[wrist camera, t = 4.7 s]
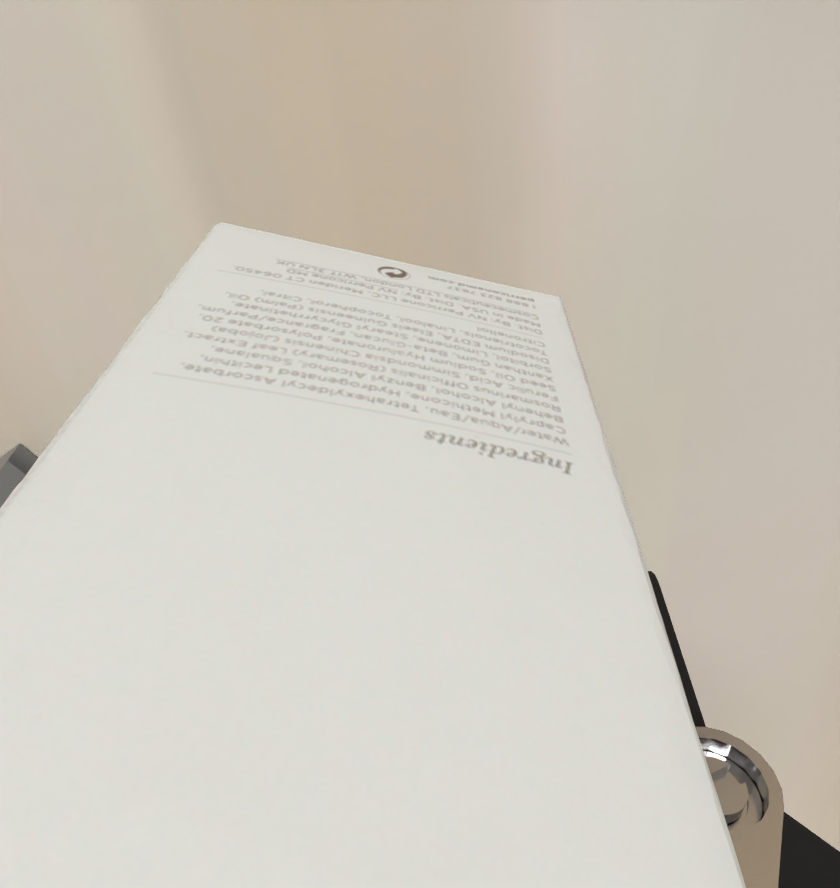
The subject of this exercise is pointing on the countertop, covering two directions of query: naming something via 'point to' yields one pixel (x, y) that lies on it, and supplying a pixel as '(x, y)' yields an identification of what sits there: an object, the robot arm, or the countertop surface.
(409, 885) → the small box
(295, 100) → the countertop surface
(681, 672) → the robot arm
